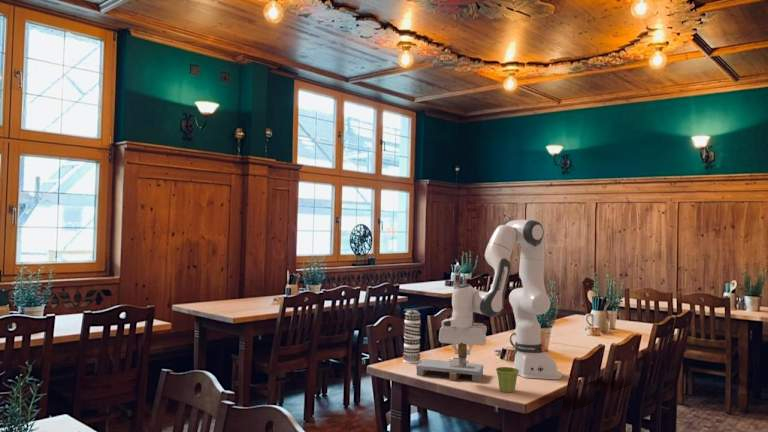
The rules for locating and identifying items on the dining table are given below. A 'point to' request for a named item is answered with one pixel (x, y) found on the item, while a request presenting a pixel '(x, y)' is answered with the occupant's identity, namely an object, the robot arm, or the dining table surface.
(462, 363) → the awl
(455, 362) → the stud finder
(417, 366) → the grey pallet
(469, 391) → the dining table surface
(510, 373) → the plant pot
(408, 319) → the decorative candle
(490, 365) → the dining table surface
